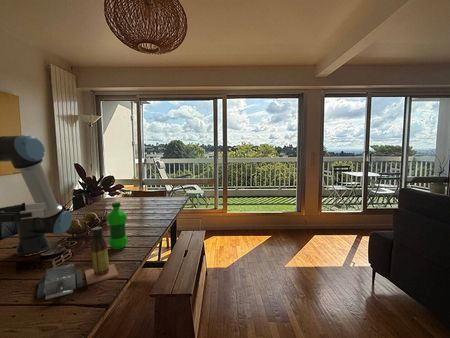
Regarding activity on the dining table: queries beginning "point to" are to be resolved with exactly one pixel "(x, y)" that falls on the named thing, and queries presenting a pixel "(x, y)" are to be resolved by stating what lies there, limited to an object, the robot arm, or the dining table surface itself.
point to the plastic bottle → (117, 227)
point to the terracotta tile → (96, 278)
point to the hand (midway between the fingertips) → (44, 209)
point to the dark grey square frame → (59, 281)
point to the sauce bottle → (99, 252)
